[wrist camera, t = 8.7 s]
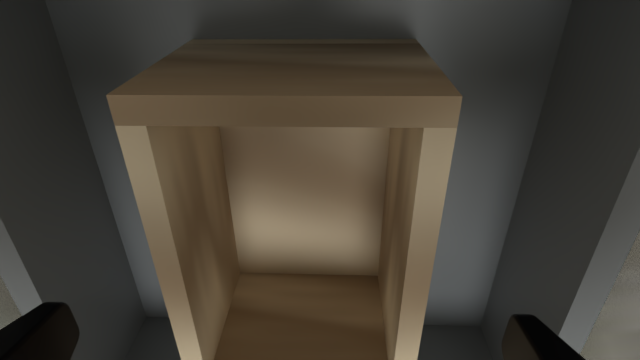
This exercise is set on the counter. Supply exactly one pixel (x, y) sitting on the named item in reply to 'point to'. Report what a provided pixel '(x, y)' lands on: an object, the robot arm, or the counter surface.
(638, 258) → the counter surface
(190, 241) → the birch crate
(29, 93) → the charcoal crate
